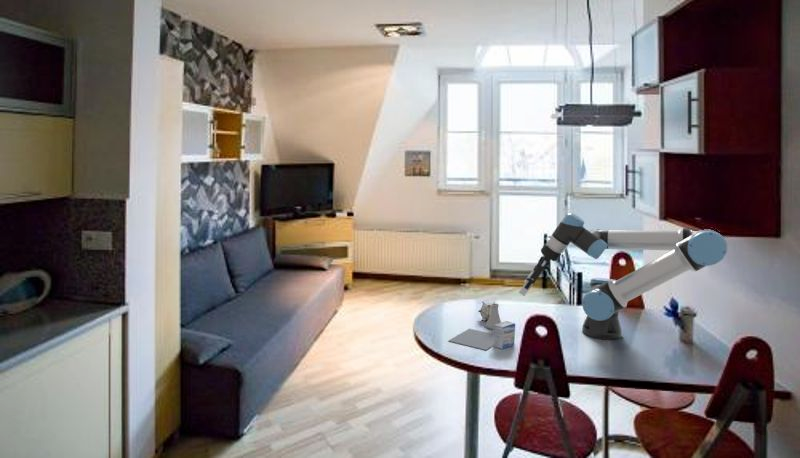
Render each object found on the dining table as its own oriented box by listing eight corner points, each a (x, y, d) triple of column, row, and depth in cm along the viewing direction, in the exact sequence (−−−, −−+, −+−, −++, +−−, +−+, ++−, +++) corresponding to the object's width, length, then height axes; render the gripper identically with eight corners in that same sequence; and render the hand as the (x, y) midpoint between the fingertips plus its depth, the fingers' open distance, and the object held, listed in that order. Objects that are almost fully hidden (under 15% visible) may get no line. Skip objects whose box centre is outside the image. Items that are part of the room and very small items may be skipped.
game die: (489, 327, 240) (502, 308, 241) (491, 326, 231) (504, 307, 233) (472, 315, 241) (485, 297, 243) (473, 314, 233) (486, 295, 234)
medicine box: (501, 349, 203) (503, 327, 202) (492, 346, 206) (493, 324, 205) (514, 345, 208) (515, 323, 207) (505, 341, 211) (506, 320, 210)
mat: (505, 337, 216) (505, 336, 216) (486, 350, 201) (486, 349, 201) (469, 329, 225) (469, 328, 225) (448, 341, 210) (448, 340, 210)
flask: (484, 324, 232) (485, 301, 231) (501, 324, 232) (502, 302, 231) (486, 329, 225) (487, 306, 224) (503, 330, 225) (505, 307, 223)
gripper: (549, 236, 228) (521, 275, 235) (542, 250, 205) (511, 292, 212) (564, 246, 226) (535, 285, 234) (559, 261, 203) (527, 304, 211)
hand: (524, 289), depth 223 cm, fingers open, 13 cm apart
